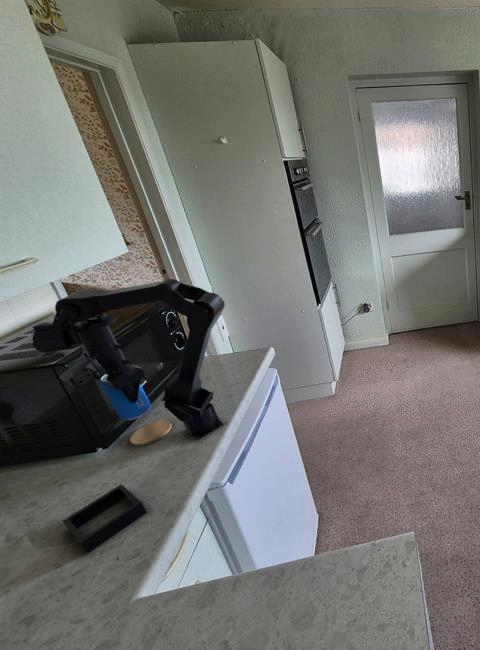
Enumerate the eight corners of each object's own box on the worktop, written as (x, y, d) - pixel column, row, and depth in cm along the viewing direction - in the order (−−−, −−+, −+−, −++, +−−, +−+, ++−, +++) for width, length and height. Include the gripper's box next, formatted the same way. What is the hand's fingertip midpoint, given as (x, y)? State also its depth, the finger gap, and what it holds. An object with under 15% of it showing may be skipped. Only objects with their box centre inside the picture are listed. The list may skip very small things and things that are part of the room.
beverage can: (135, 423, 93) (113, 382, 88) (114, 421, 94) (91, 381, 89) (158, 405, 99) (138, 367, 94) (138, 404, 100) (117, 366, 95)
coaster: (162, 418, 107) (161, 416, 107) (178, 427, 103) (177, 426, 103) (124, 438, 101) (123, 437, 100) (139, 450, 96) (138, 448, 96)
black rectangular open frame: (127, 493, 83) (121, 484, 82) (147, 512, 79) (141, 502, 77) (69, 530, 76) (62, 520, 75) (87, 553, 71) (80, 543, 70)
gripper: (39, 352, 87) (73, 407, 93) (69, 370, 78) (104, 430, 84) (99, 331, 95) (126, 383, 102) (132, 345, 86) (160, 401, 93)
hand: (128, 398), depth 95 cm, fingers closed on beverage can, 6 cm apart
